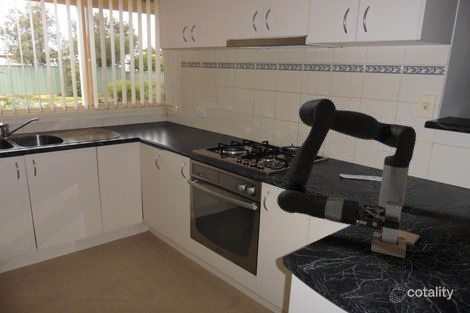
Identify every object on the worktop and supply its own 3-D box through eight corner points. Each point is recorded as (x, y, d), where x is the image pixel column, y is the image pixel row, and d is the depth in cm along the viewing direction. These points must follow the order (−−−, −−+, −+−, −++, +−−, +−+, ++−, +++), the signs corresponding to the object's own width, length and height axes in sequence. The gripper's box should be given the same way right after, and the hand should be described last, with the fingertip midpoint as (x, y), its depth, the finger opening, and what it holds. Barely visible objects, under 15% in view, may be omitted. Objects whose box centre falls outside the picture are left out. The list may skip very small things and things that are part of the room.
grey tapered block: (381, 244, 109) (386, 200, 106) (395, 247, 107) (401, 202, 104) (380, 249, 105) (386, 204, 102) (395, 252, 103) (401, 206, 101)
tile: (393, 230, 120) (393, 228, 119) (419, 237, 114) (419, 235, 114) (385, 237, 113) (386, 235, 113) (412, 245, 108) (413, 243, 108)
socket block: (372, 239, 112) (373, 231, 111) (404, 245, 108) (405, 238, 108) (370, 250, 104) (371, 242, 103) (404, 258, 100) (406, 249, 100)
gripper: (339, 205, 103) (401, 216, 96) (345, 193, 115) (400, 201, 109) (336, 230, 104) (397, 242, 98) (343, 215, 117) (397, 224, 111)
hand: (399, 221), depth 103 cm, fingers open, 8 cm apart
